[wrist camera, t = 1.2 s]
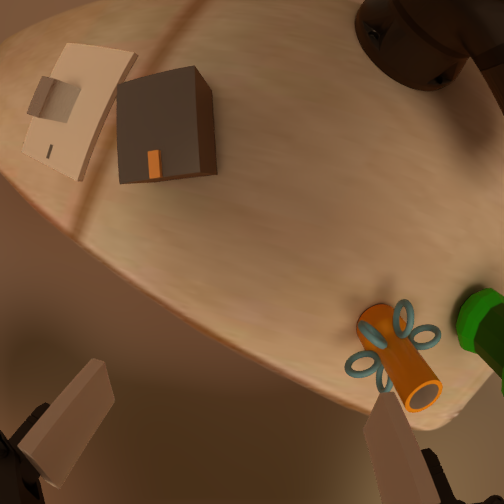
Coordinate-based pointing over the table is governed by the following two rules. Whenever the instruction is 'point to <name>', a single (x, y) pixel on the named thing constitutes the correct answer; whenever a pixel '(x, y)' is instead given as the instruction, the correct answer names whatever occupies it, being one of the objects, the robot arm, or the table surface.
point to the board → (74, 106)
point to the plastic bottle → (484, 328)
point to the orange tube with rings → (397, 355)
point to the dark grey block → (165, 127)
